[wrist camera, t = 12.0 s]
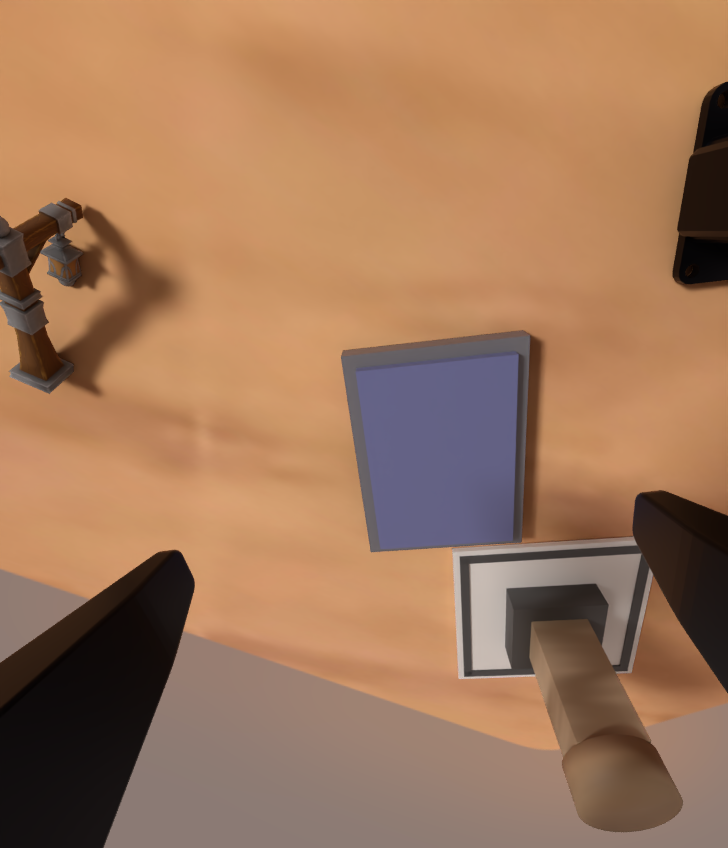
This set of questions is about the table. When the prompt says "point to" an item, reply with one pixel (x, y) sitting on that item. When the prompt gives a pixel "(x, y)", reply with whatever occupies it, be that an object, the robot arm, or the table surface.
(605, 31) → the table surface
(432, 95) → the table surface
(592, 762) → the stamp
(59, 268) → the wooden post with brackets
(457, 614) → the marked card
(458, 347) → the ink pad
